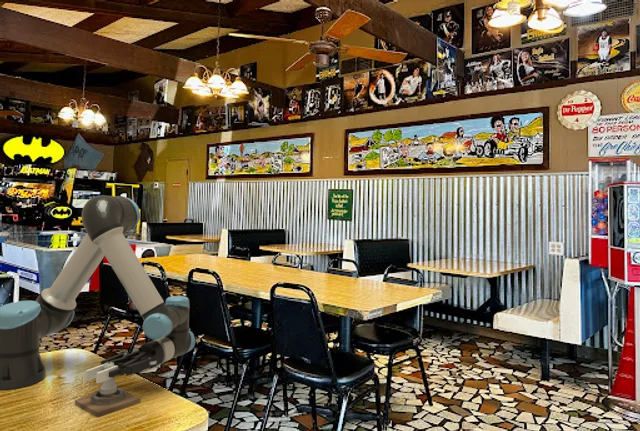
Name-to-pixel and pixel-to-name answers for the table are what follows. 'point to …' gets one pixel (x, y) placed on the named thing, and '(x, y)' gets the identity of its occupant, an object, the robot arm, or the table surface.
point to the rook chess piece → (108, 382)
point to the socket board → (106, 407)
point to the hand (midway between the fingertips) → (91, 377)
